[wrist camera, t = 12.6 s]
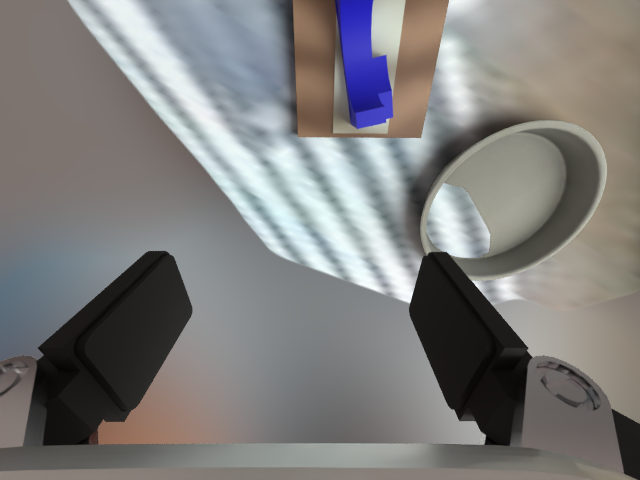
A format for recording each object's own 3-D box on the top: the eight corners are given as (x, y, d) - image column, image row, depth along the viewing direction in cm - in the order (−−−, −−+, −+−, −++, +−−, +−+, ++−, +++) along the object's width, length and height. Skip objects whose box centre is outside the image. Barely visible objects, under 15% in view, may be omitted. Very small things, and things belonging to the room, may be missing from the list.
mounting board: (293, -34, 25) (290, -45, 23) (447, -32, 25) (458, -43, 23) (299, 135, 33) (297, 137, 31) (415, 135, 33) (421, 137, 31)
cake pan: (451, 100, 31) (471, 100, 27) (616, 136, 33) (656, 141, 29) (390, 255, 43) (397, 271, 39) (514, 274, 45) (532, 290, 42)
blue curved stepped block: (386, 116, 30) (401, 119, 24) (350, 124, 30) (357, 129, 25) (378, -18, 24) (395, -51, 18) (334, -5, 24) (338, -34, 19)
